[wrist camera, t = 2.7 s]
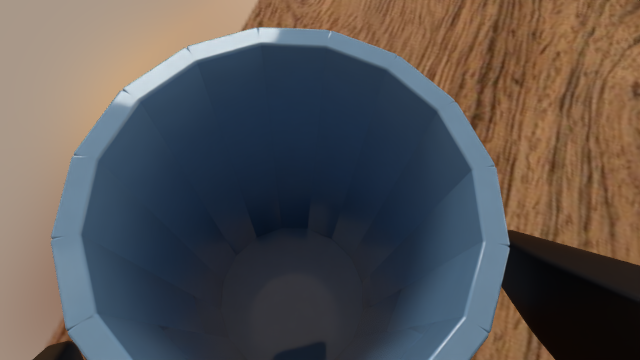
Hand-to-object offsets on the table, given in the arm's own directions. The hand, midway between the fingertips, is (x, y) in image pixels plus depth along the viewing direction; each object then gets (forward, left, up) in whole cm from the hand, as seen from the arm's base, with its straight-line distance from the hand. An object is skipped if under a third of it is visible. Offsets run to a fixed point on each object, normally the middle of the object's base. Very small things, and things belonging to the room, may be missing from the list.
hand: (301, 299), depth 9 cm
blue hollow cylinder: (+1, 0, -9) cm, 9 cm away
